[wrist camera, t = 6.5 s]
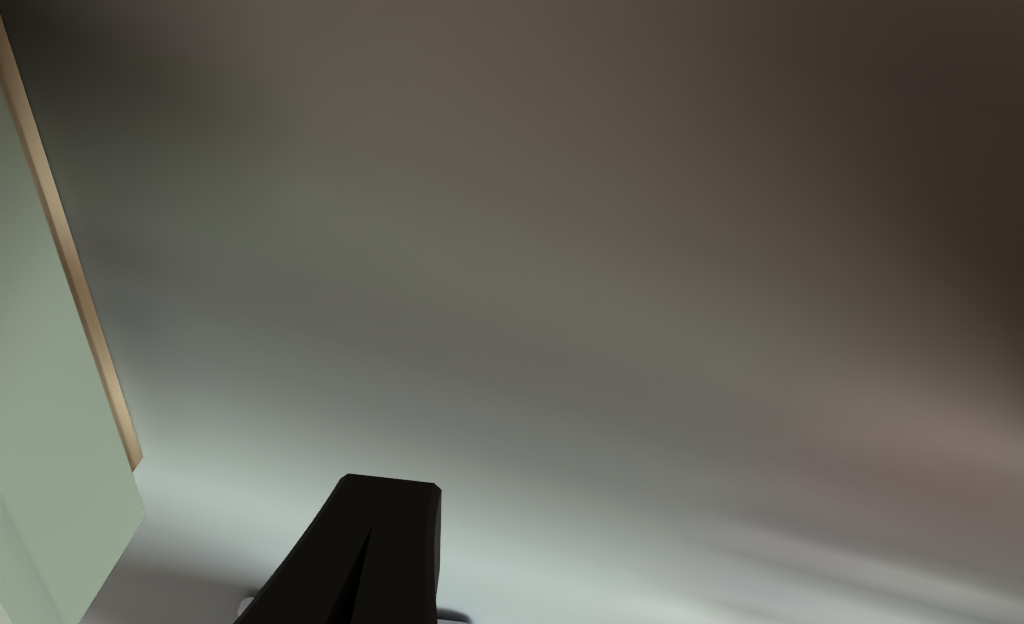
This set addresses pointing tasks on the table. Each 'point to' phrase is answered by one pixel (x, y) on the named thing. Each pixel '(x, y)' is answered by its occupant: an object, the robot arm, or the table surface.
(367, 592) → the robot arm
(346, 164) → the table surface
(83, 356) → the lid
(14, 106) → the box
